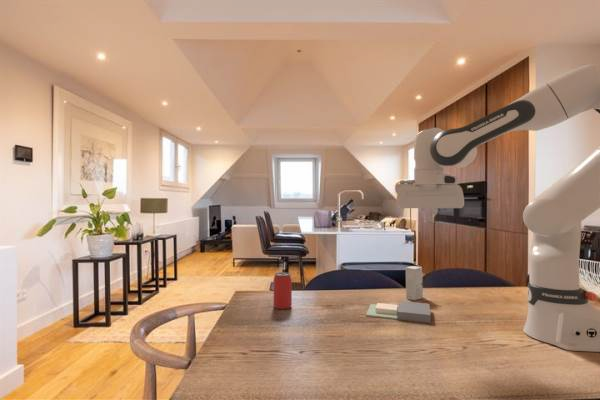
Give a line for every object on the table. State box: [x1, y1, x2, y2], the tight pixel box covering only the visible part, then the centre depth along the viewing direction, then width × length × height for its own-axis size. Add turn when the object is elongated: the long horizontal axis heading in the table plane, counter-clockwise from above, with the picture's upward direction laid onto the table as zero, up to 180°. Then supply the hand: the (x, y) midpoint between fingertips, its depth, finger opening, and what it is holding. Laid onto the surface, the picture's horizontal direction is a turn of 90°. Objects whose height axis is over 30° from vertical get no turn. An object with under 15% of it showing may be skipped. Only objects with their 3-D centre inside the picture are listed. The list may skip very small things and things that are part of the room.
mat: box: [365, 303, 398, 320], centre depth 112 cm, size 10×12×1 cm
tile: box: [375, 302, 399, 315], centre depth 112 cm, size 7×6×2 cm
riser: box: [396, 300, 432, 324], centre depth 109 cm, size 10×12×2 cm
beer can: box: [273, 271, 293, 310], centre depth 118 cm, size 7×7×12 cm
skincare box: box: [405, 265, 424, 301], centre depth 129 cm, size 6×4×12 cm
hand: (429, 222), depth 105 cm, fingers closed
